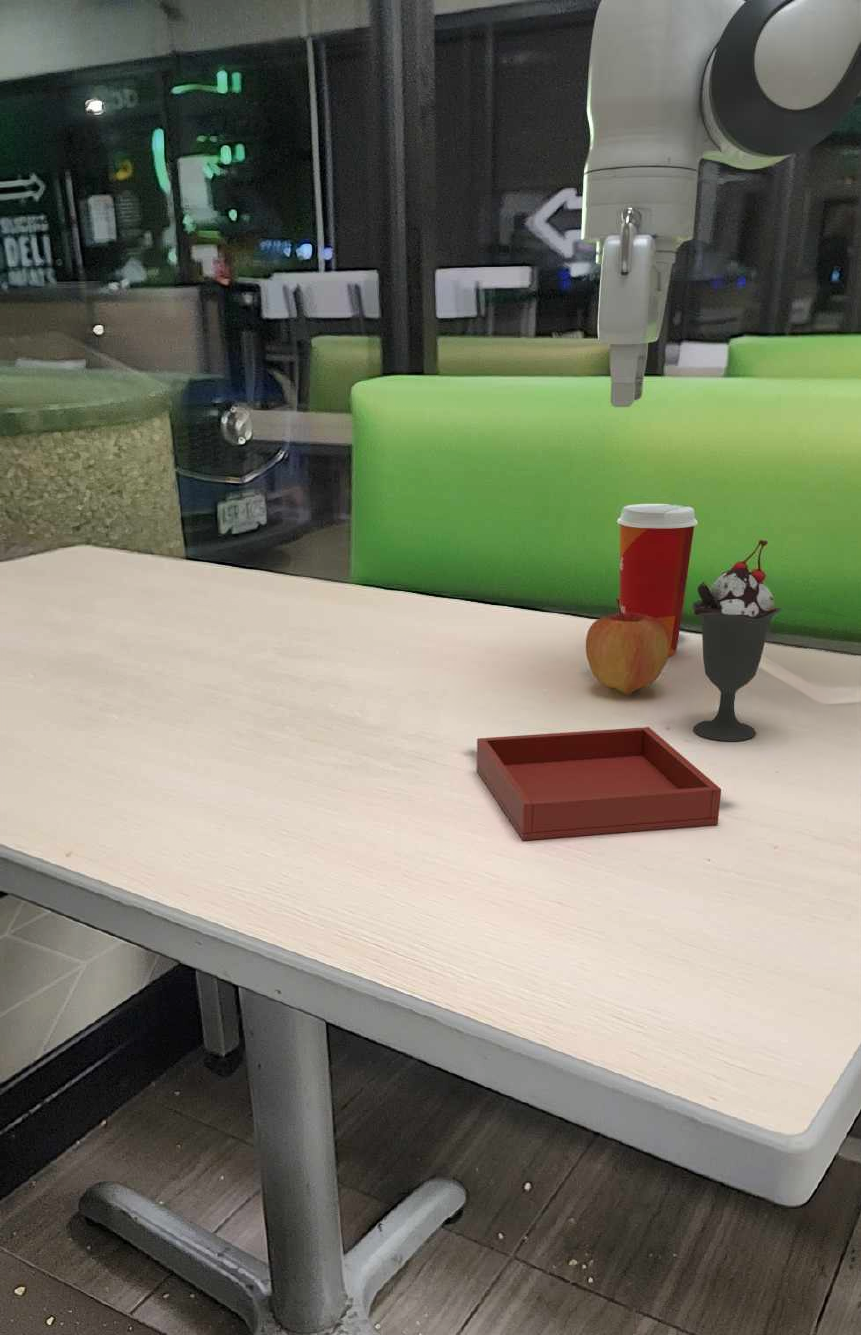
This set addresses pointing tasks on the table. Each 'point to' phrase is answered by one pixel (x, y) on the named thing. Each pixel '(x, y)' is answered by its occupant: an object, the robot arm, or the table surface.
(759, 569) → the sundae
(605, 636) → the apple
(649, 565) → the paper cup
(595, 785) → the red tray
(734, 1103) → the table surface
